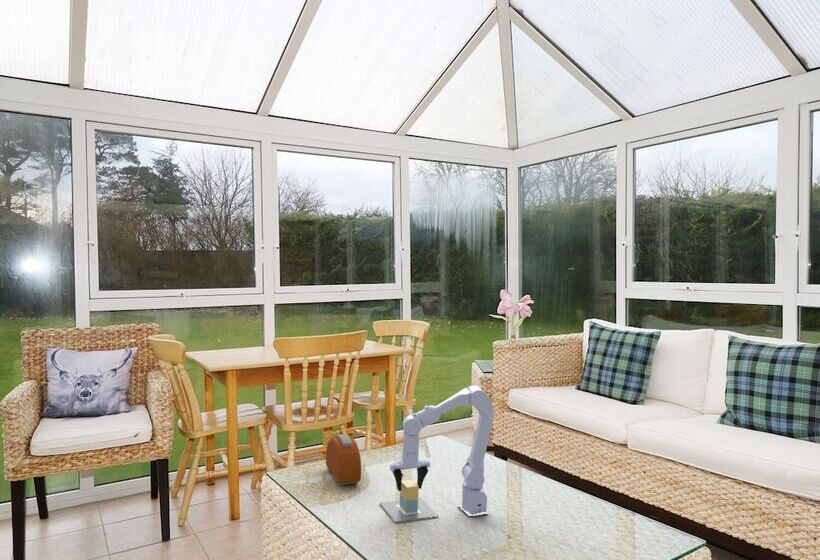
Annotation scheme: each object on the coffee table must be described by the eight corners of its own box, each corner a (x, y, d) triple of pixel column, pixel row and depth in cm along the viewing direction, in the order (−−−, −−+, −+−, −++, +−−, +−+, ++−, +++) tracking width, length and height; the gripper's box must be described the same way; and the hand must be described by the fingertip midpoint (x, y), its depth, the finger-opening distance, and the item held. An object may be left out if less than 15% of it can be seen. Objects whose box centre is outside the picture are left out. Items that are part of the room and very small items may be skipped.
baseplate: (438, 517, 197) (438, 515, 197) (394, 523, 191) (395, 521, 191) (420, 499, 212) (420, 497, 212) (379, 504, 206) (379, 502, 206)
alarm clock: (361, 486, 223) (362, 443, 222) (338, 488, 219) (340, 445, 219) (345, 465, 244) (346, 427, 244) (324, 468, 241) (326, 428, 241)
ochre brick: (418, 499, 199) (418, 486, 199) (406, 500, 198) (406, 487, 198) (411, 492, 205) (411, 479, 205) (400, 493, 204) (400, 480, 204)
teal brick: (417, 511, 199) (418, 498, 199) (406, 513, 198) (406, 500, 198) (410, 504, 205) (411, 491, 205) (399, 505, 204) (400, 493, 204)
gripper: (425, 445, 207) (423, 482, 208) (387, 448, 202) (386, 486, 202) (432, 451, 201) (431, 489, 201) (394, 455, 196) (392, 494, 196)
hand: (409, 488), depth 201 cm, fingers open, 7 cm apart
